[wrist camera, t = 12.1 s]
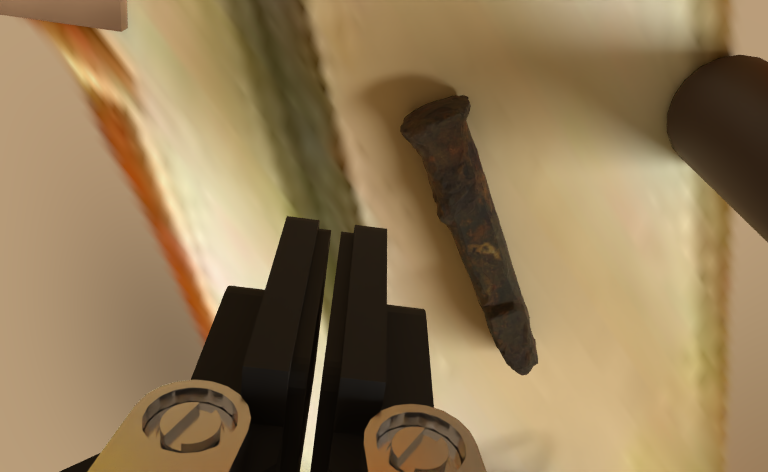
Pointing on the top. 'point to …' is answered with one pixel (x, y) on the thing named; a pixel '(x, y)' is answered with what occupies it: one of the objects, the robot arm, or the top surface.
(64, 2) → the tongs board
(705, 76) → the bottle
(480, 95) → the top surface
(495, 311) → the hand tool
